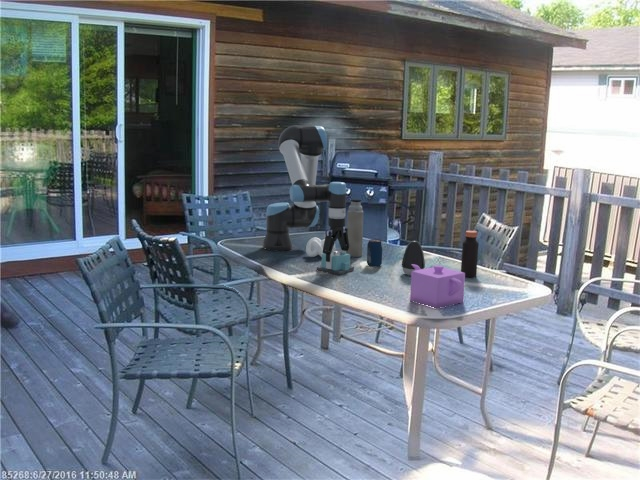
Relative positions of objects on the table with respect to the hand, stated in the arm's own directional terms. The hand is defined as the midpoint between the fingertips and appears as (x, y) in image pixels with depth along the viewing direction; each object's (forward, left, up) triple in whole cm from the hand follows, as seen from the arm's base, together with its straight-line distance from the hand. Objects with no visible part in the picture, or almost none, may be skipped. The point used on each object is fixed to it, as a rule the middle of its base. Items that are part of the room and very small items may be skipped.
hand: (335, 266), depth 290 cm
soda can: (+8, +20, -2) cm, 22 cm away
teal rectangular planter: (0, 0, 0) cm, 0 cm away
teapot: (+57, -15, -2) cm, 59 cm away
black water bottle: (+50, +31, -2) cm, 59 cm away
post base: (0, 0, -2) cm, 2 cm away
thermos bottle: (-12, +33, -2) cm, 35 cm away
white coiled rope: (-24, +18, -2) cm, 30 cm away
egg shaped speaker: (+30, +17, -2) cm, 34 cm away
